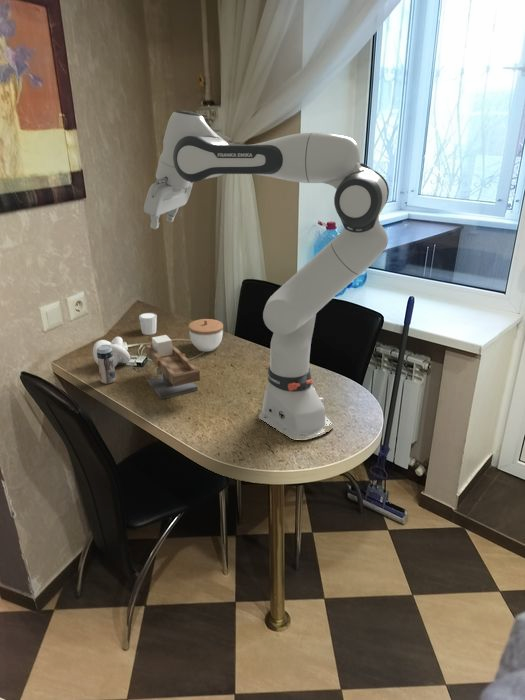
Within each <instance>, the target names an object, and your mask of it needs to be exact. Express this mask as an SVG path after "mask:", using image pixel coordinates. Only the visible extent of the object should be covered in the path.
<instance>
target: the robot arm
mask: <svg viewBox="0 0 525 700" xmlns="http://www.w3.org/2000/svg"><path fill="white" fill-rule="evenodd" d="M164 132H165V133H164V136H163V141H162V152H161V154H160V156H159V157H158V158H159V159H158V164H157V167H156V172H155V178H156V180H155V182H154V183H151V185H150V186H149V188H148V190H147V194H146V197H145V202H144V205H143V212H144V213H145V214H147V215H148V216H149V217H150V225H149V226H150V228H151V229H153V230H158V228H159V227H160V222H159V219H160V218H161V215H164V214H166V213H167V214H166V217H165V221H166V222H168V223H173V222H174V220H175V217H176V215H177V213H178V211H179V208H180V207H184V206H185V205H186V204H187V203H188V201H189V199H190V196H191V191H192V190H193V189H192V188H193V185H194V183H196V182H197V183H198V182H200V181H203V180H207V179H212V178H217V177H220V176H222V175H223V176H224V175H256V176H263V177H268V178H274V179H279V180H285V181H288V182H294V183H303V184H325V185H329V186H332V187H333V188H334V189H336V190H335V193H334V197H333V198H334V199H333V202H334V204H333V205H334V209H335V211H336V214H337V215H338V217H339V219H340V221H341V223H342V226H343V229H342V230H341V232H339V233H338V234H337V236H335V237H334V238H333V239H332V240H331V241H330V242H328V243H327V244H326V245H325V246H323V248H322V249H321V250H320V251H318V252H317V254H315V255H314V256H313V257H312V258H311V259H310V260H308V262H307V263H306V264H304V265H303V266H301V268H300V269H299V270H298V271H296V273H294V275H292V276H291V277H290V278H289V279H288V280H287V281H286V282H285V283H283V285H282V286H280V287H279V288H278V289H277V290H276V291H274V293H273V294H272V295H270V297H269V298H268V300H267V301H266V303H265V305H264V309H263V311H262V319H263V322H264V325H265V326H266V327H267V329H269V330H270V331H271V332H272V333H273V334H272V337H271V341H270V351H269V352H270V353H269V366H268V368H267V381H268V383H267V386H266V388H265V390H264V392H263V393H264V394H263V401H262V409H261V411H260V413H259V414H258V419H259V420H260V419H261V420H263V421H264V422H266V423H267V424H269V425H270V426H272V427H274V428H276V429H277V430H279V431H281V432H282V433H284V434H286V435H287V436H289V437H291V438H293V439H305V438H309V437H313V436H316V435H318V434H320V433H323V432H325V431H324V430H325V429H323V427H325V426H329V424H330V423H331V424H333V422H332V421H331V420H330V419H329V418H328V417H327V414H326V407H325V406H324V404H325V399H324V397H322V396H319V395H318V393H317V391H316V389H315V387H314V385H313V383H315V382H314V380H315V378H312V373H311V370H310V369H311V368H310V357H311V356H310V355H311V344H312V338H313V334H314V328H315V323H316V317H317V313H318V312H319V311H321V310H322V309H323V308H324V307H325V306H326V305H328V304H329V302H330V301H332V300H333V299H334V298H335V297H336V296H337V295H338V294H339V293H340V292H342V291H343V290H344V289H345V288H346V287H347V286H349V285H350V284H351V283H352V282H354V281H355V280H356V279H357V278H358V277H359V276H361V275H362V274H363V273H364V272H365V271H367V270H368V268H369V267H370V266H372V265H373V264H374V262H376V261H377V259H379V257H380V256H381V255H382V253H383V252H384V251H385V250H386V248H387V247H388V243H389V237H388V233H387V231H386V230H385V228H384V226H383V225H382V224H381V222H380V220H379V218H380V215H381V213H382V211H383V210H384V207H385V206H386V204H387V202H388V200H389V196H390V188H389V185H388V182H387V180H386V179H385V178H384V176H383V175H381V174H380V172H378V171H376V170H374V169H373V168H371V167H369V165H367V164H366V163H361V162H360V158H361V154H360V149H359V146H358V143H357V142H356V141H355V140H354V139H353V138H351V137H349V136H345V135H341V134H335V133H328V132H327V133H325V132H303V133H302V132H301V133H300V132H299V133H295V134H287V135H285V136H280V137H277V138H274V139H269V140H267V141H262V142H258V143H254V144H229V143H228V141H226V140H225V139H224V138H223V137H221V136H219V135H218V134H217V133H216V132H215V131H214V130H213V129H212V127H210V126H209V124H208V123H207V122H206V119H205V118H204V116H203V115H202V114H201V113H198V112H195V111H189V110H181V109H179V110H175V111H173V112H172V114H171V116H170V117H169V119H168V122H167V125H166V129H165V131H164ZM261 420H260V421H261ZM327 420H328V421H327ZM263 421H262V422H263ZM264 422H263V423H264ZM266 423H265V424H266ZM267 424H266V425H267ZM326 424H327V425H326ZM331 424H330V425H331ZM269 425H268V426H269ZM270 426H269V427H270ZM272 427H271V428H272ZM274 428H273V429H274ZM277 430H276V431H277ZM301 436H304V437H301Z"/></svg>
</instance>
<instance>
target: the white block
mask: <svg viewBox="0 0 525 700" xmlns="http://www.w3.org/2000/svg"><path fill="white" fill-rule="evenodd" d="M151 341H152V345H153V349H154V350H155V351H156V352H157V353H158V355H159V356H160V357H163V356H168V355H173V352H172V344H173V340H172V339H171V338H170V337H169V336H168V335H167V334H163V335H158V336H153V337H151Z"/></svg>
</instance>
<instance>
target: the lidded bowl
mask: <svg viewBox="0 0 525 700" xmlns="http://www.w3.org/2000/svg"><path fill="white" fill-rule="evenodd" d="M188 331H189V333H188V334H189V338H190V341H191V344H192V345H193V346H194V347H195V348H196V349H197V350H198V351H200V352H205V353H206V352H213V351H214V350H216V349H217V348H218V346H219V345H220V344H221V342H222V340H223V333H224V324H223V322H222V321H220V320H218V319H217V320H216V319H215V318H214V319H212V318H210V319H209V318H202V319H201V318H200V319H196V320H193V321H191V322H190V323H189V324H188Z"/></svg>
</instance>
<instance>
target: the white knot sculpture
mask: <svg viewBox="0 0 525 700" xmlns="http://www.w3.org/2000/svg"><path fill="white" fill-rule="evenodd" d="M101 345H109V346H110V347H111V348H112V352H113V360H114V368H116V366H117V365H119V363H120V364H123V363H126V364H129V362H130V361H131V355H130V353H129V352H128V350H127V349H125V348H124V340H123V338H122V337H121V336H116V337H114V338H113V339H112V340H111V341H108V340H106V339H100V340H97V341H96V342H95V343H94V345H93V348H92V356H93V359H94V361H95V363H96V364H97V365H98V357H97V348H98V347H99V346H101Z"/></svg>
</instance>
